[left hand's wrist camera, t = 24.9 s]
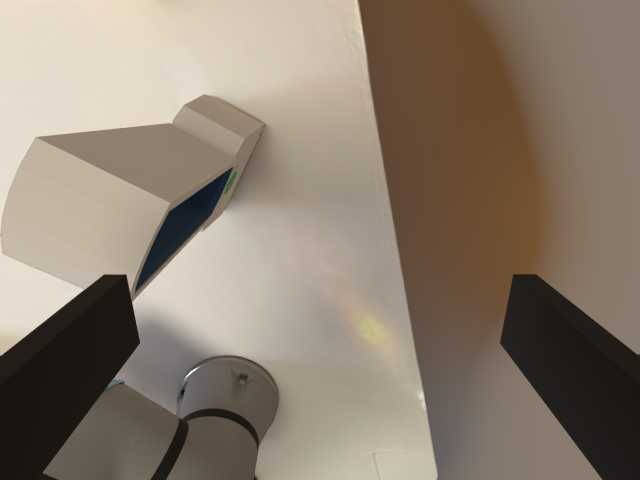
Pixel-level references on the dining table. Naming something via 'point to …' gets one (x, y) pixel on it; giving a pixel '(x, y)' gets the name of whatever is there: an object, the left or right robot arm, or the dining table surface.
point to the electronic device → (125, 194)
